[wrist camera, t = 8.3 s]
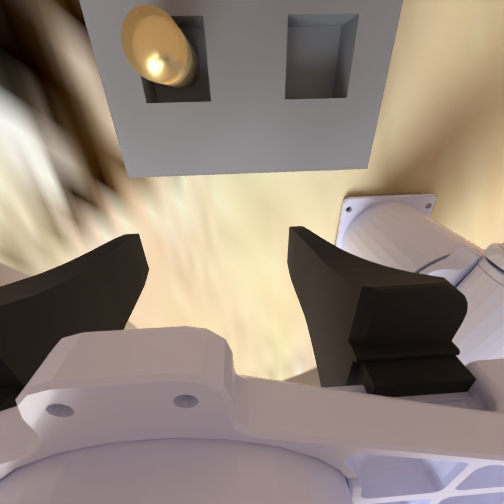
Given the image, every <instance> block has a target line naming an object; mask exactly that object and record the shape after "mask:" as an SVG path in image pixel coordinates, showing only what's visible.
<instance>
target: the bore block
mask: <svg viewBox="0 0 504 504" xmlns="http://www.w3.org/2000/svg"><path fill="white" fill-rule="evenodd" d="M79 1H80V5H81V8H82V12H83V15H84V19H85V23H86V26H87V30H88V34H89V37H90V41H91V44H92V48H93V52H94V55H95V59H96V62H97V66H98V70H99V73H100V77H101V80H102V84H103V88H104V91H105V95H106V98H107V102H108V106H109V109H110V113H111V117H112V120H113V124H114V127H115V131H116V135H117V138H118V142H119V145H120V149H121V153H122V156H123V160H124V163H125V167H126V171H127V174H128V178H135V177H161V176H188V175H214V174H241V173H267V172H294V171H320V170H347V169H367V168H368V163H369V158H370V154H371V149H372V144H373V139H374V135H375V130H376V125H377V120H378V116H379V111H380V106H381V101H382V97H383V92H384V87H385V82H386V78H387V73H388V68H389V63H390V59H391V54H392V49H393V45H394V40H395V35H396V30H397V26H398V21H399V16H400V11H401V7H402V2H403V0H79ZM139 5H153V6H156V7H159V8H160V9H162V10H164V11H165V12H166V13H167V14H168V15H169V16H170V17H171V18H172V19H173V20H174V22H175V23H176V24H177V26H178V27H179V29H180V30H181V31H182V33H183V34H184V36H185V37H186V38H187V40H188V41H189V43H190V44H191V45H192V47H193V48H194V50H195V51H196V53H197V55H198V58H199V62H200V73H199V77H198V79H197V81H196V82H195V83H194V84H193V85H192V86H191V87H189V88H186V89H180V88H176V87H172V86H168V85H164V84H161V83H157V82H153V81H150V80H148V79H145V78H144V77H142V76H141V75H140V74H138V73H137V72H136V71H135V70H134V69H133V67H132V66H131V65H130V63H129V61H128V60H127V58H126V56H125V53H124V50H123V46H122V40H121V30H122V25H123V22H124V19H125V17H126V15H127V14H128V13H129V12H130V11H131V10H132V9H133V8H135V7H137V6H139Z"/></svg>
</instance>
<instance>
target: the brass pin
mask: <svg viewBox="0 0 504 504" xmlns="http://www.w3.org/2000/svg"><path fill="white" fill-rule="evenodd" d="M121 40H122V46H123V50H124V53H125V56H126V58H127V60H128V61H129V63H130V65H131V66H132V67H133V69H134V70H135V71H136V72H137V73H138V74H140V75H141V76H142V77H144V78H145V79H148V80H150V81H153V82H157V83H161V84H164V85H168V86H172V87H176V88H180V89H186V88H189V87H191V86H192V85H193V84H194V83H195V82H196V81H197V79H198V77H199V73H200V62H199V58H198V55H197V53H196V51H195V50H194V48H193V47H192V45H191V44H190V43H189V41H188V40H187V38H186V37H185V36H184V34H183V33H182V31H181V30H180V29H179V27H178V26H177V24H176V23H175V22H174V20H173V19H172V18H171V17H170V16H169V15H168V14H167V13H166V12H165V11H164V10H162V9H160V8H159V7H156V6H153V5H139V6H137V7H135V8H133V9H132V10H131V11H130V12H129V13H128V14H127V15H126V17H125V19H124V22H123V25H122V30H121Z"/></svg>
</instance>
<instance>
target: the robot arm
mask: <svg viewBox="0 0 504 504" xmlns="http://www.w3.org/2000/svg"><path fill="white" fill-rule="evenodd" d="M435 201H436V196H435V195H433V194H408V195H384V196H360V197H347V198H346V199H345V200H344V201H343V204H342V210H341V216H340V222H339V227H338V233H337V239H336V245H335V246H334V245H333V244H331V243H329V242H327V241H326V240H324V239H322V238H321V237H319V236H318V235H316V234H314V233H313V232H311V231H310V230H308V229H306V228H305V227H303V226H296V227H289V242H288V259H287V263H288V268H289V273H290V277H291V280H292V283H293V286H294V289H295V291H296V294H297V297H298V299H299V302H300V304H301V307H302V310H303V312H304V315H305V319H306V322H307V326H308V330H309V334H310V338H311V342H312V346H313V351H314V355H315V359H316V364H317V369H318V373H319V378H320V382H321V387H319V386H312V385H305V384H298V383H291V382H285V381H278V380H272V379H265V378H258V377H251V376H245V375H238V374H236V372H235V369H234V364H233V354H232V351H231V349H230V347H229V345H228V343H227V342H226V340H225V339H224V338H222V337H221V336H219V335H217V334H215V333H213V332H212V331H210V330H208V329H206V328H197V327H189V326H179V327H162V328H146V329H131V330H130V329H129V330H124V328H125V325H126V323H127V321H128V319H129V317H130V315H131V313H132V311H133V309H134V307H135V305H136V302H137V300H138V298H139V296H140V294H141V292H142V290H143V288H144V285H145V282H146V279H147V275H148V271H149V267H148V264H147V261H146V257H145V254H144V250H143V247H142V243H141V240H140V236H139V234H125V235H122V236H120V237H118V238H115V239H113V240H111V241H109V242H107V243H105V244H103V245H102V246H100V247H98V248H96V249H94V250H92V251H90V252H88V253H86V254H84V255H82V256H80V257H78V258H76V259H74V260H71V261H69V262H67V263H65V264H63V265H61V266H58V267H56V268H53V269H51V270H48V271H46V272H43V273H41V274H38V275H35V276H32V277H29V278H26V279H23V280H20V281H17V282H14V283H11V284H8V285H4V286H1V287H0V504H504V243H501V244H499V243H493V244H491V245H489V246H488V247H487V249H486V250H483V249H481V248H480V247H478V246H476V245H475V244H473V243H471V242H470V241H468V240H466V239H465V238H463V237H461V236H460V235H458V234H456V233H455V232H453V231H451V230H450V229H448V228H446V227H445V226H443V225H441V224H440V223H438V222H436V221H434V220H433V219H431V218H429V217H430V215H431V212H432V209H433V207H434V204H435ZM428 203H429V204H428ZM427 204H428V206H427V207H426V205H427ZM348 207H350V209H349V210H348V211H346V209H347V208H348Z"/></svg>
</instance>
